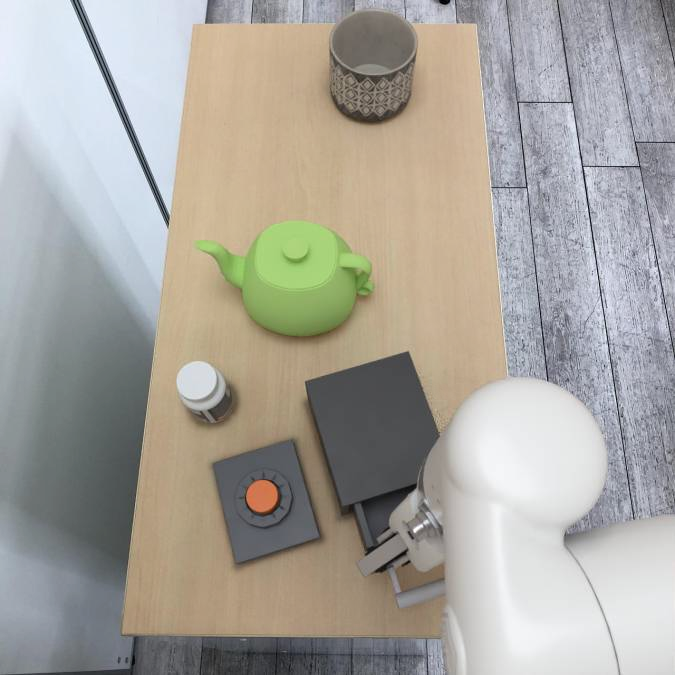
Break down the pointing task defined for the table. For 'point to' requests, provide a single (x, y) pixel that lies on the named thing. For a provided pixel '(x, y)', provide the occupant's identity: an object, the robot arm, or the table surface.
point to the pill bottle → (205, 392)
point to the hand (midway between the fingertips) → (439, 517)
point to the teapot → (296, 277)
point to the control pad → (281, 523)
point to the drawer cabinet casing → (372, 427)
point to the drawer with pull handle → (370, 526)
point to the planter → (372, 63)
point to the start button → (262, 496)
